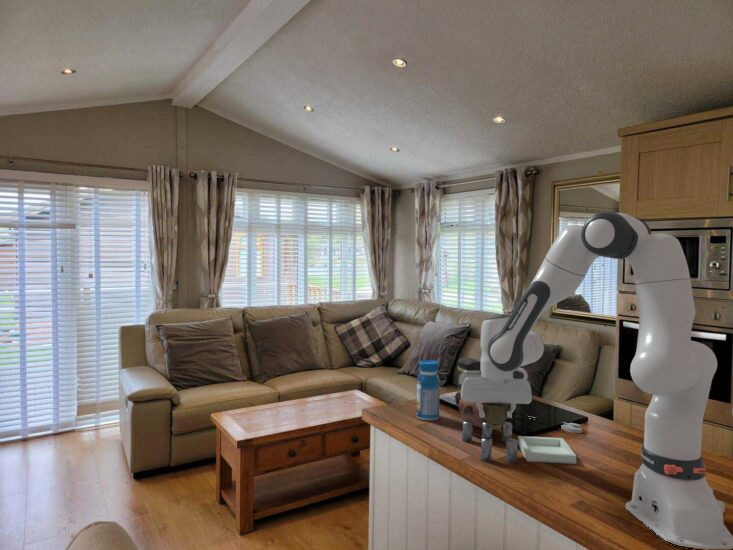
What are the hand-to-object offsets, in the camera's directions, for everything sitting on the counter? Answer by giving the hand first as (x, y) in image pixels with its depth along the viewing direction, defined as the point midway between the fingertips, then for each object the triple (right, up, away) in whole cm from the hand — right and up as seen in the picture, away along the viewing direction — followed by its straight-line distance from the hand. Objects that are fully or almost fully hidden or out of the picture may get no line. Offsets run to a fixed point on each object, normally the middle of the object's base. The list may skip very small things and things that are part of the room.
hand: (495, 417), depth 148 cm
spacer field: (-1, -10, +1) cm, 10 cm away
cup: (0, -3, 0) cm, 3 cm away
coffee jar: (+1, -8, +44) cm, 45 cm away
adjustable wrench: (+24, -10, +26) cm, 37 cm away
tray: (+14, -10, -1) cm, 18 cm away
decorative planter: (-2, -10, +17) cm, 20 cm away
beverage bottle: (-16, -9, +31) cm, 36 cm away
